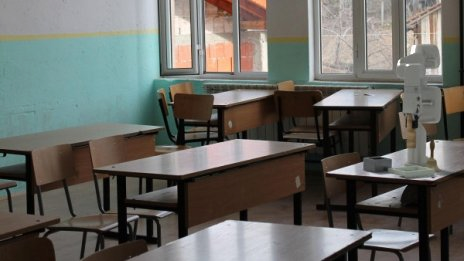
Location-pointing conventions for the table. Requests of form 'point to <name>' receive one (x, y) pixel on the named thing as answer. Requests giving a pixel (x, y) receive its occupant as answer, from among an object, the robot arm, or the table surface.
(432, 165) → the hand bell
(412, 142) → the dowel
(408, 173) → the tray
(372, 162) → the grey socket block
